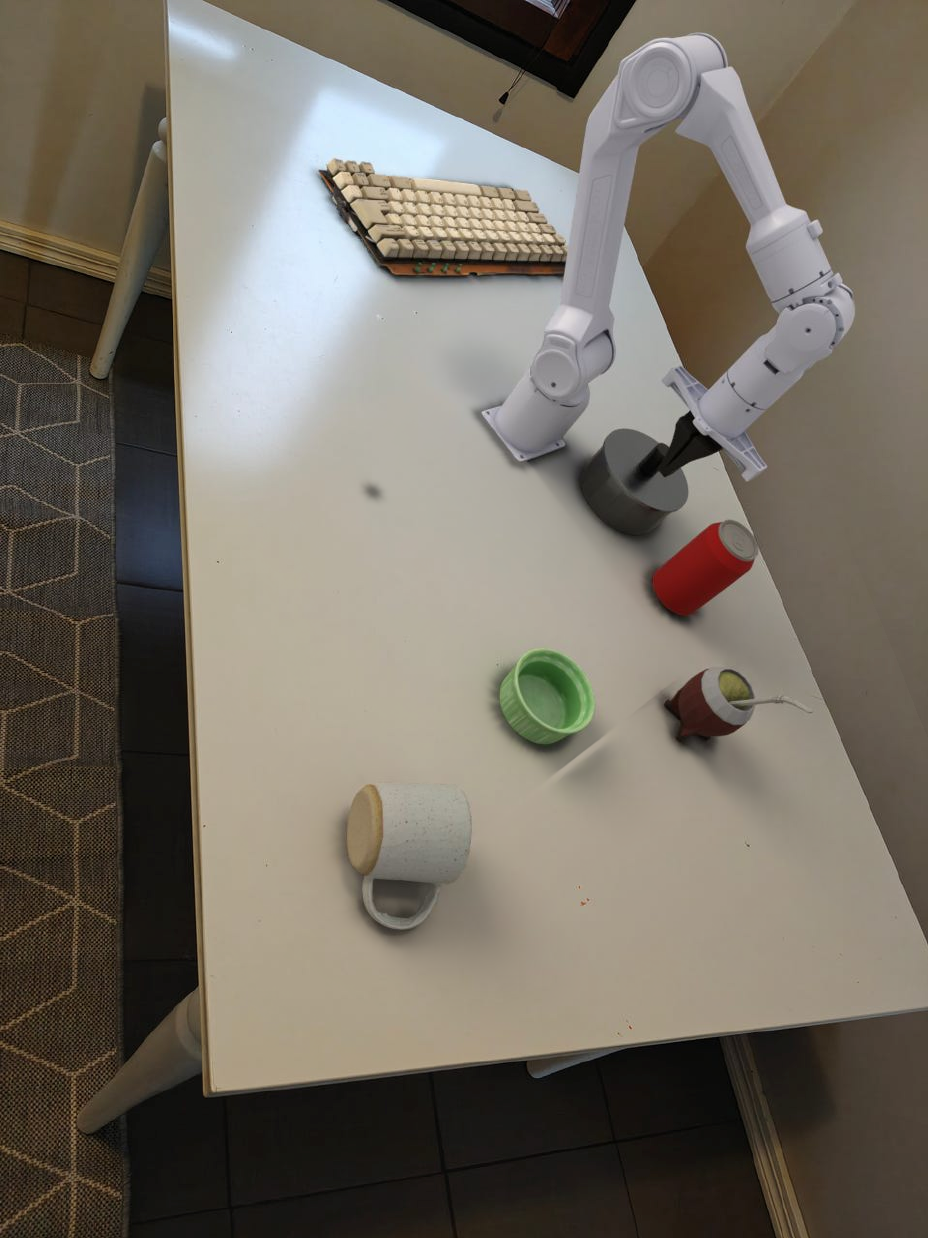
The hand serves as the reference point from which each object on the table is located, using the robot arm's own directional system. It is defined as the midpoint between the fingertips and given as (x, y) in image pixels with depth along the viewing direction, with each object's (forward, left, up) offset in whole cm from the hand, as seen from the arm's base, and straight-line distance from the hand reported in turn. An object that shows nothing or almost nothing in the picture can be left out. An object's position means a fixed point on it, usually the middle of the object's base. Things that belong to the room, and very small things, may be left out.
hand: (665, 470), depth 97 cm
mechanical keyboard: (-13, -50, -11) cm, 53 cm away
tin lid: (-4, -3, -5) cm, 7 cm away
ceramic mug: (+51, +17, -11) cm, 54 cm away
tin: (-4, -3, -10) cm, 12 cm away
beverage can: (0, +11, -11) cm, 15 cm away
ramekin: (+29, +13, -11) cm, 33 cm away
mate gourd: (+12, +24, -11) cm, 29 cm away
